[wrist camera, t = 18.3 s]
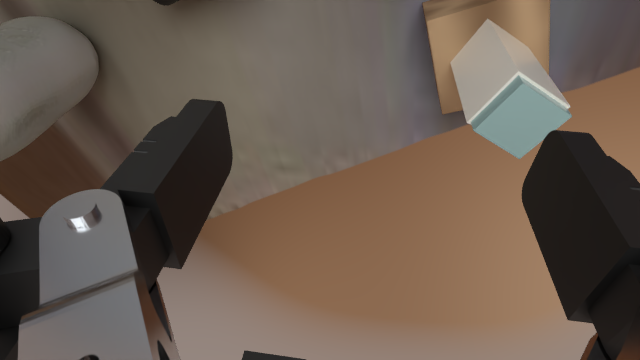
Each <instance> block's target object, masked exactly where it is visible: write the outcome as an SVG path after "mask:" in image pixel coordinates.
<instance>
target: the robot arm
mask: <svg viewBox="0 0 640 360" xmlns="http://www.w3.org/2000/svg"><path fill="white" fill-rule="evenodd" d="M231 166H232V147H231V141H230V135H229V129H228V123H227V117H226V111H225V107H224V105H223V103H222V102H220V101H209V100H198V99H191V100H190V101H189V102H188V103H187V104H186V106H185V107H184V108H183V109H182V110H181V112H180V113H179V114H178V115H177V117H172V116H171V117H169V118H168V119H166V120H164V121H163V122H161V123H159V124H157V125H156V126H154V127H153V128H152V129H151V131H150V132H149V133H148V134H147V135H146V136H145V138H144V139H143V142H140V143H139V144H138V146H137V147H136V148H135V149H134V152H132V153H131V154H130V155H129V156H128V157H127V158H126V159H125V161H124V162H123V163H122V164H121V165H120V166H119V168H118V169H117V170H116V171H115V172H114V173H113V174H112V176H111V177H110V178H109V179H108V180H107V181H106V183H105V184H104V185H103V186H102V187H101V188H100V189H92V190H86V191H82V192H78V193H75V194H72V195H70V196H68V197H65V198H64V199H62V200H60V201H58V202H57V203H56V204H54V205H53V206H52V207H51V208H49V209H48V210H47V212H46V213H45V214H44V215H43V217H39V218H31V219H23V220H16V221H8V222H3V221H2V220H1V218H0V360H181V359H180V356H179V353H178V350H177V346H176V343H175V340H174V336H173V332H172V329H171V326H170V322H169V318H168V315H167V311H166V308H165V304H164V301H163V297H162V293H161V290H160V286H159V284H158V281H157V277H158V275H159V273H160V271H161V269H162V268H163V267H169V268H177V269H182V267H183V265H184V263H185V261H186V259H187V257H188V255H189V253H190V251H191V249H192V247H193V245H194V243H195V241H196V239H197V237H198V235H199V233H200V231H201V229H202V227H203V225H204V223H205V221H206V219H207V217H208V215H209V213H210V211H211V209H212V207H213V205H214V203H215V201H216V199H217V197H218V195H219V193H220V191H221V189H222V187H223V185H224V183H225V181H226V179H227V177H228V175H229V173H230V170H231ZM522 202H523V206H524V208H525V211H526V213H527V216H528V218H529V221H530V224H531V226H532V229H533V231H534V234H535V236H536V239H537V242H538V244H539V247H540V249H541V252H542V254H543V257H544V260H545V262H546V265H547V267H548V270H549V273H550V275H551V278H552V280H553V283H554V286H555V288H556V291H557V293H558V296H559V299H560V301H561V304H562V306H563V309H564V311H565V314H566V317H567V319H568V320H571V321H580V322H587V323H593V324H594V326H595V329H596V331H597V333H596V334H595V335H594V336H593V337H592V338H591V339H590V340H589V342H588V344H587V347H586V348H585V351H584V353H583V355H582V357H581V359H580V360H640V183H639V182H638V181H637V179H636V178H635V177H634V176H633V175H632V173H631V172H630V171H629V170H628V169H626V168H625V167H624V166H622V165H621V164H620V163H618V162H617V161H616V160H614V159H613V158H611V157H610V156H606V154H605V153H604V151H603V150H602V149H601V147H600V146H599V145H598V143H597V142H596V140H595V139H594V138H593V136H592V135H591V134H589V133H582V132H569V131H558V130H553V131H551V132H549V133H548V134H547V136H546V137H545V139H544V141H543V143H542V145H541V147H540V149H539V151H538V153H537V155H536V157H535V159H534V162H533V163H532V166H531V168H530V170H529V172H528V174H527V176H526V178H525V181H524V183H523V187H522ZM242 360H305V359H299V358H292V357H285V356H279V355H272V354H265V353H258V352H251V351H244V354H243V358H242Z"/></svg>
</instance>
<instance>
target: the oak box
mask: <svg viewBox="0 0 640 360" xmlns="http://www.w3.org/2000/svg"><path fill="white" fill-rule="evenodd" d="M422 4H423V10H424V16H425V21H426V27H427V33H428V39H429V45H430V51H431V56H432V62H433V68H434V74H435V80H436V85H437V91H438V96H439V101H440V105H441V110H442V114H447V113H451V112H456V111H461V110H463V107H462V103H461V100H460V96H459V92H458V89H457V85H456V82H455V78H454V74H453V71H452V67H451V63H450V62H451V61H452V60H453V59H454V57H455V56H456V55H457V54H458V53H459V52H460V50H461V49H462V48H463V47H464V46H465V45H466V43H467V42H468V41H469V40H470V39H471V38H472V36H473V35H474V34H475V33H476V32H477V30H478V29H479V28H480V27H481V26H482V25H483V23H484V22H485V21H486V20H487V19H489V20H491V21H492V22H494V23H495V24H496V25H498V26H499V27H501V28H502V29H503V30H505V31H506V32H508V33H509V34H511V35H512V36H513V37H515V38H516V39H518V40H519V41H520V42H522V43H523V44H525V45H526V46H528V47H529V49H530V50H531V52H532V53H533V54H534V56H535V57H536V59H537V60H538V61H539V63H540V64H541V66H542V67H543V68H544V70H545V71H546V73H547V74H548V75H549V33H550V0H430V1H426V2H423V3H422Z"/></svg>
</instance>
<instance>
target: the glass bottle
mask: <svg viewBox="0 0 640 360" xmlns="http://www.w3.org/2000/svg"><path fill="white" fill-rule="evenodd" d="M98 73H99V63H98V55H97V53H96V51H95V48H94V47H93V45H92V44H91V42H90V41H89V40H88V38H87V37H86V36H85V35H83V34H82V33H81V32H79V31H78V30H77V29H75V28H74V27H72V26H70V25H69V24H67V23H65V22H63V21H60V20H57V19H54V18H50V17H43V16H28V17H21V18H16V19H13V20H10V21H7V22H4V23H1V24H0V161H2V160H4V159H6V158H8V157H10V156H12V155H14V154H15V153H17V152H19V151H20V150H22V149H23V148H24V147H26V146H27V145H29V144H30V143H31V142H33V141H34V140H35V139H36V138H37V137H38V136H40V135H41V134H42V133H43V132H44V131H46V130H47V129H48V128H49V127H50V126H51V125H52V124H53V123H55V122H56V121H57V120H58V119H59V118H60V117H61V116H63V115H64V114H65V113H66V112H68V111H69V110H70V109H71V108H73V107H74V106H75V105H76V104H78V103H79V102H80V101H81V100H82V99H83V98H84V97H85V96H86V95H87V94H88V93H89V92H90V90H91V88H92V87H93V85H94V83H95V81H96V79H97V76H98Z"/></svg>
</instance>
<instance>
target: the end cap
mask: <svg viewBox="0 0 640 360" xmlns="http://www.w3.org/2000/svg"><path fill="white" fill-rule="evenodd" d="M154 1H155V2H157V3H159V4H161V5H171V4H173V3H175V2H177V1H179V0H154Z"/></svg>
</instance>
